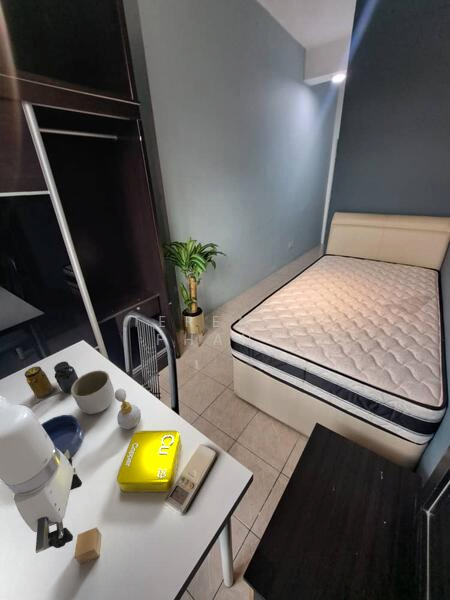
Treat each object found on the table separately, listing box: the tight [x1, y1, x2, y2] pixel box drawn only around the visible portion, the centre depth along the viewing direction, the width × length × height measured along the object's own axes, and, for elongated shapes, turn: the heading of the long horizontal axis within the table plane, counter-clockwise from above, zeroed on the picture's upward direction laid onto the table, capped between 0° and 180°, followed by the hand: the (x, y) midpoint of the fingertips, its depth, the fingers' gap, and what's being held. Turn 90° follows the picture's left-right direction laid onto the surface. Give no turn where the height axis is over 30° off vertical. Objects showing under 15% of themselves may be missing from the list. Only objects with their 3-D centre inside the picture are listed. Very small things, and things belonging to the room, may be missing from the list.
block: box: [73, 527, 102, 565], centre depth 56 cm, size 4×4×4 cm
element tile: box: [116, 430, 182, 493], centre depth 72 cm, size 15×15×5 cm
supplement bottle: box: [53, 361, 79, 394], centre depth 98 cm, size 7×7×12 cm
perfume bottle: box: [114, 388, 142, 430], centre depth 83 cm, size 8×10×12 cm
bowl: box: [40, 414, 85, 458], centre depth 78 cm, size 15×15×5 cm
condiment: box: [24, 365, 61, 404], centre depth 97 cm, size 7×8×12 cm
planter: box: [70, 370, 115, 415], centre depth 90 cm, size 12×12×11 cm
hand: (69, 512), depth 51 cm, fingers open, 9 cm apart
